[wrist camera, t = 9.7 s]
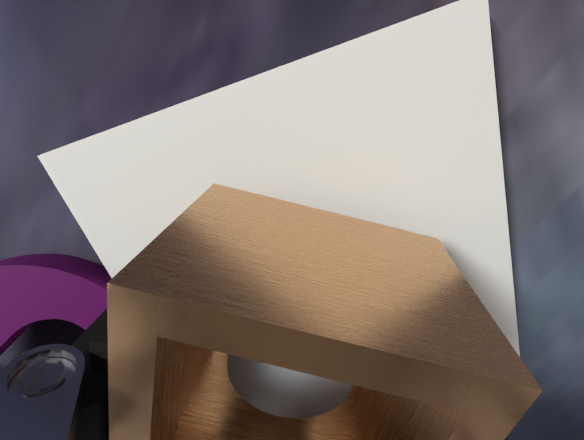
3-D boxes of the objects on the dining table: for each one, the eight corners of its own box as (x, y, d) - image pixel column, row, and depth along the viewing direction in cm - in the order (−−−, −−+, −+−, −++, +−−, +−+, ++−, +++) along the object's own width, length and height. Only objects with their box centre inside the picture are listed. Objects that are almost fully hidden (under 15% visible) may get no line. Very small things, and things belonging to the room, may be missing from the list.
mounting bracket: (93, 201, 19) (-155, 441, 18) (2, 209, 11) (-476, 657, 9) (212, 301, 21) (1, 525, 20) (210, 370, 13) (-151, 761, 12)
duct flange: (510, 371, 14) (601, 515, 9) (212, 413, 17) (169, 540, 12) (470, -1, 9) (622, -85, 4) (59, 150, 12) (-109, 194, 7)
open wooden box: (437, 238, 9) (542, 390, 5) (366, 393, 12) (389, 584, 8) (214, 183, 9) (106, 282, 5) (192, 350, 12) (109, 516, 8)
